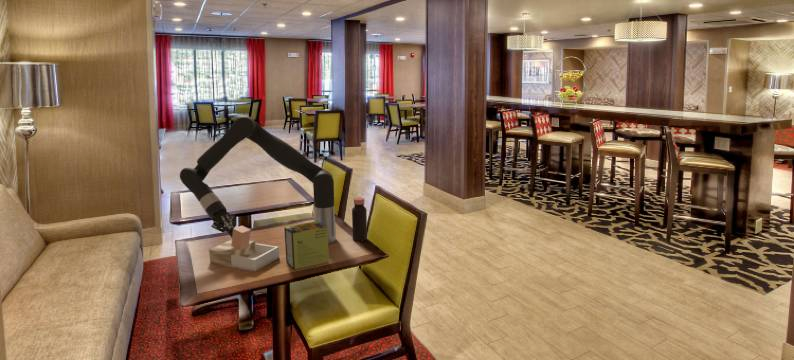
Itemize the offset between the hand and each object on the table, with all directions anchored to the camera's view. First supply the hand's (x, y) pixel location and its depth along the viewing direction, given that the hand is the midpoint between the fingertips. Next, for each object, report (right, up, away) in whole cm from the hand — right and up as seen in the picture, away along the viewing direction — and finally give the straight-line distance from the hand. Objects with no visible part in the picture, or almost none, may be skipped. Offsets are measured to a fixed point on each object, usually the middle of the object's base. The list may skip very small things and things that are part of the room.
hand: (236, 237), depth 212 cm
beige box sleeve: (-2, -9, +3) cm, 10 cm away
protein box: (+30, -10, -1) cm, 32 cm away
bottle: (+50, -4, +26) cm, 57 cm away
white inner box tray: (+9, -10, -1) cm, 14 cm away
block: (+2, -4, 0) cm, 4 cm away
